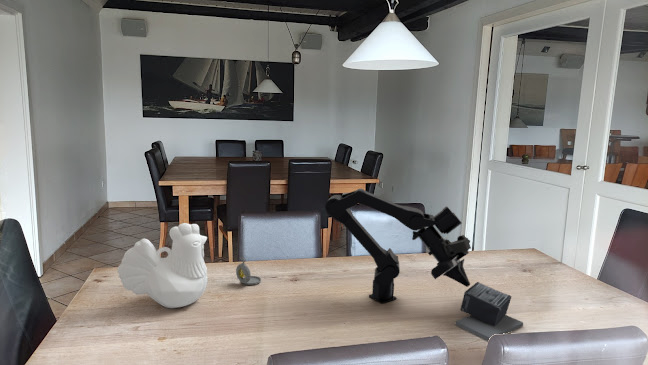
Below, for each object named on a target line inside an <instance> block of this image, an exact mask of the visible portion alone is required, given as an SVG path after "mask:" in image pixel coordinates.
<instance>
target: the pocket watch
mask: <svg viewBox="0 0 648 365" xmlns="http://www.w3.org/2000/svg"><path fill="white" fill-rule="evenodd" d="M240 260H241V262H242V263H239V264H238V265H237V267H236V268H235V273H236V274H235V275H236V277H237V278H236V279H238V280H239V282H241V284H243V285H246V286H252V285H258V284H260V283H261V281H262V279H261V277H260V276H256V275H252V274H251V270H250V269H249V266H248V265H247V264H245V262H246V261H247V260H246V259H245V258H244V257H243V256H241V257H240Z"/></svg>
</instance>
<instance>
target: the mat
mask: <svg viewBox="0 0 648 365" xmlns="http://www.w3.org/2000/svg"><path fill="white" fill-rule="evenodd" d="M454 325H455V326H456V327H458V328H461V329H462V330H464V331H466V332H469V333H470V334H472V335H474V336H477V337H478V338H480V339H482V340H485V341H486V342H488V340H489V338H490V337H491V336H492V335H494V334H503V333H508V332H510V333H512V332H514V331H515V330H518V329H520V328H522V327H524V322H523V321H521V320H518V319H516V318H514V317H511V316H510V315H507V314H506V315H505V316H504V317H503V318H502V319H501V320H500V321H499V322H498V324H497V325H496V326H493V325H491V324H488V323H486V322H484V321H482V320H480V319H478V318H476V317H474V316H472V315H468V316H465V317H462V318H460V319H457V320H456V321H455V324H454ZM511 331H512V332H511ZM508 334H509V333H508Z"/></svg>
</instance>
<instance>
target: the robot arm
mask: <svg viewBox="0 0 648 365" xmlns="http://www.w3.org/2000/svg"><path fill="white" fill-rule="evenodd" d="M359 204H362V205H364V206H366V207H369V208H371V209H373V210H376V211H378V212H381V213H383V214H384V215H388V216H389V217H391V218H395V219H396V220H397V221H399V223H401V224H402V225H404V226H405V227H407V228H408V229H410V230H412V241H416V240H417V239H420V241H421V242H422V243H423V245H424V246H425V247H426V249H427V250H428V251H429V252H427V254H428V255H429V256H431V255H432V256H433V258H434V259H435V261H436V262H437V263H436V266H435V267H433V268H432V269H431V271H430V275H431V276H432V278H433V279H434V280H436V279H438V278H439V277H441V276H445V277H447V278H449V279H452V280H453V281H455V282H458V283H459V284H460V285H463V286H464V287H467V288H468V287H469V286H470V285H471V283H470V281H469V278H468V276H467V273H466V271H465V268H464V263H465V258H464V257H465V256H467V255H468V254H469V250H471V249H472V247H471V245H470V244H471V240H470V239H469V238H468V237H467V236H465V235H464V234H461V235H459V236H457V238H456V240H455V241H450V240H449V239H447V238H446V239H444V237H443V236H442V235H441V234H444V235H445V234H447V235H449V233H451V232H452V231H454V230H455V229H456V228H457V227H459V226H460V225H462V224H463V222H462V221H461V220H460V218H459V217H458V216H457V215H456V213H455V212H453V211H452V210H451V209H450V208H449V207H448V206H447V205H446V206H445V207H444V208H442V210H440V211H439V212H438V213H437V214H435V215H433V214H430V213H425V212H423V211H422V210H420V209H419V208H416V207H412V206H408V205H407V206H406V205H402V204H401V205H400V204H397V203H395V202H393V201H390V200H388V199H385V198H383V197H381V196H378V195H376V194H375V193H371V192H370V191H367V190H365V189H364V188H357V189H356V190H354V191H351V192H347V193H344V194H342V195H340V194H335V195H331V196H330V198H329V199H328V200H327V201H326V203H325V206H324V207H325V212H326V213H327V215H328V216H330V217H331V218H332V219H334V220H335V221H336V222H339V223H340V224H342V225H343V226H344V227H345V228H346V229H347V230H348V231H349V232H350V234H351V235H352V236H353V237H354V238H355V239H356V240H357V241H358V243H359V244H360V245H361V246H362V247H363V249H364V250H366V251H367V253H368V254H369V256H371V257H372V259H373V261H374V263H375V265H376V268H375V269H374V276H373V280H372V290H371V291H372V293H371V294H368V297H369V298H371V299H373V300H375V301H376V302H378V303H380V304H384V303H388V302H392V301H394V300H397V297H396V296H394V293H395V292H394V291H395V282H394V280H395V279H396V278H398V277H399V275H400V267H401V266H400V261H399V256H398V255H396V254H395V253H394V251H393V250H392V249H391V248H388V249H387V250H386V249H385V248H383V247H382V246H381V245H380V244H379V243H378V242H377V241H376V239H375V238H374V237H373V235H371V234H370V233H369V231H368V230H367V229H366V228H365V227H364V226H363V224H362V223H361V222H359V220H358V219H357V218H356V217H355V216H354V214H353V213H352V210H351V208H352V207H355V206H357V205H359ZM439 232H440V233H441V234H440V233H439ZM462 258H463V259H462Z"/></svg>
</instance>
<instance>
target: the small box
mask: <svg viewBox="0 0 648 365" xmlns="http://www.w3.org/2000/svg"><path fill="white" fill-rule="evenodd" d="M511 299H512V296H511V295H509V294H508V293H505V292H502V291H499V290H496V289H495V288H492V287H491V286H487V285H485V284H483V283H481V282H479V281H476V282H475V283H474V284H473V285H471V286H470V287H469V288H468V289H466V290H465V291H464V294H463V297H462V302H461V306H460V309H459V310H460V311H461V312H463V313H466V314H468V316H470V315H472V316H474V317H476V318H478V319H480V320H482V321H484V322H486V323H488V324H491V325H493V326H496V325H497V324H498V322H499V321H500V320H501V319H502V318H503V317H504V316H505V315H507V312H508V309H509V306H510V303H511Z"/></svg>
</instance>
